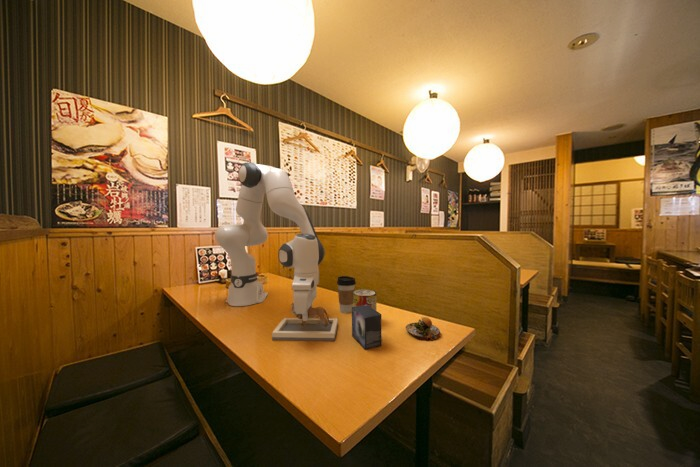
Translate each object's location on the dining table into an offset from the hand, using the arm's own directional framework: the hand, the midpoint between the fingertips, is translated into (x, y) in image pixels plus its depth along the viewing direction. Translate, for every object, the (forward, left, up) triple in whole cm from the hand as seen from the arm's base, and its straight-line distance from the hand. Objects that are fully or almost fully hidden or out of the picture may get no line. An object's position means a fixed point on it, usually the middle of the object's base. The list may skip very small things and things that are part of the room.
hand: (307, 317), depth 88 cm
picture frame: (0, 0, -5) cm, 5 cm away
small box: (+6, +21, -6) cm, 23 cm away
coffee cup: (-22, +13, -6) cm, 26 cm away
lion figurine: (+1, +1, -3) cm, 4 cm away
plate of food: (0, +41, -6) cm, 42 cm away
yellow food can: (-9, +21, -6) cm, 23 cm away
